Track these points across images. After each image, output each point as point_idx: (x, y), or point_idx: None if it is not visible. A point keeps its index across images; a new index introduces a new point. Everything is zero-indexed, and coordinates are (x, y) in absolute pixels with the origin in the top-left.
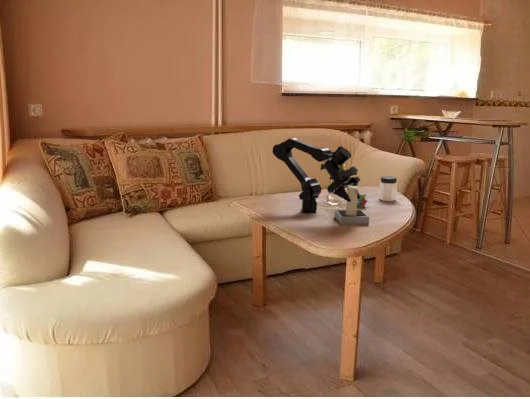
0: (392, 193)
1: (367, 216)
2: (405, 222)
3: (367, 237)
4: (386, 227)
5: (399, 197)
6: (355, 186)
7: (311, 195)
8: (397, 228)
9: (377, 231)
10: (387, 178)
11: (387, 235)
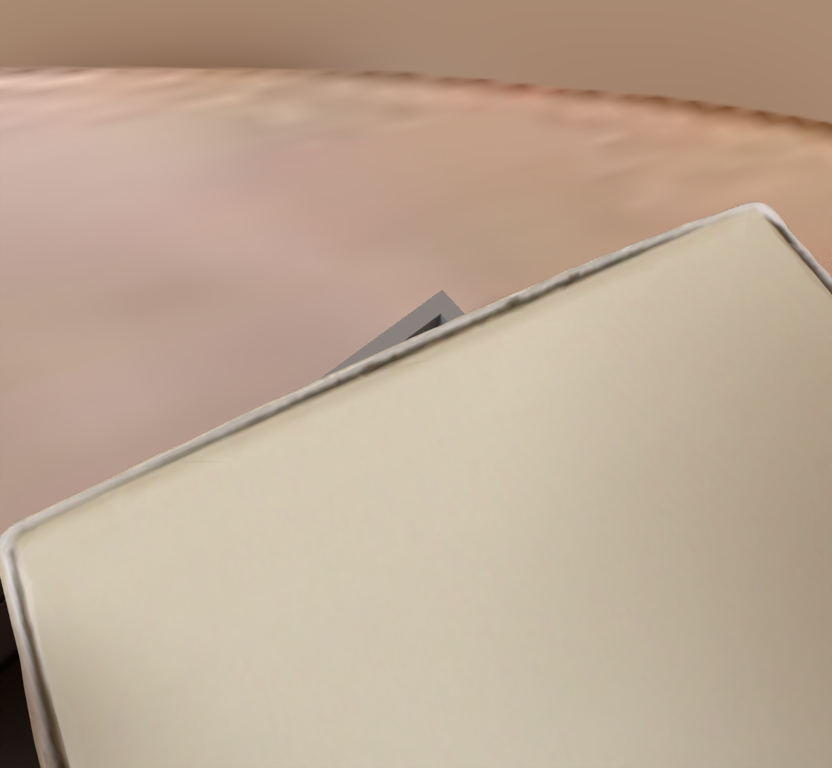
0: None
1: (449, 309)
2: (127, 75)
3: (812, 210)
4: (418, 168)
5: None
6: (221, 572)
7: None
8: (387, 89)
9: (597, 195)
10: None
11: (640, 106)
